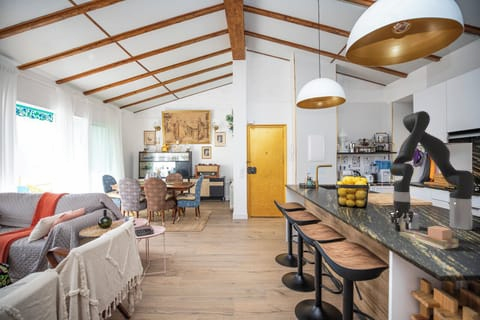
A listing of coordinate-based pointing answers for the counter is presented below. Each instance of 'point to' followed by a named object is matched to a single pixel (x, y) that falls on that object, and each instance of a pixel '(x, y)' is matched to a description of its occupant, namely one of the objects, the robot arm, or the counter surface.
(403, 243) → the counter surface
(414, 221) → the medicine box
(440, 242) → the lane board
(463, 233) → the counter surface
